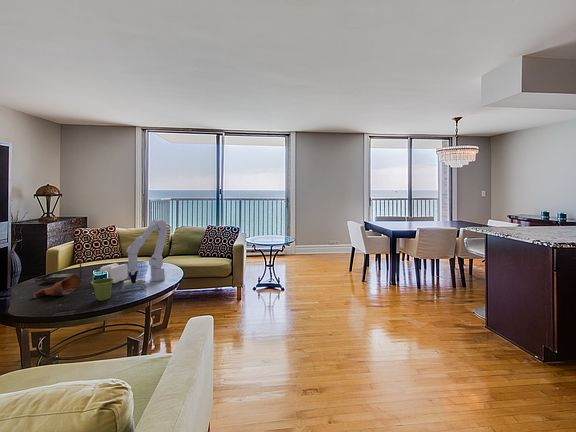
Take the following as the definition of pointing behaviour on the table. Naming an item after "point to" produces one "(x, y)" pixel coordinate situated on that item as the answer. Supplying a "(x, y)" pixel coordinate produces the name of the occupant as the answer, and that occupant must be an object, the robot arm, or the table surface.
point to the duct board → (133, 287)
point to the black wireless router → (60, 276)
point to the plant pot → (103, 288)
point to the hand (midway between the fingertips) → (133, 282)
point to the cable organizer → (116, 271)
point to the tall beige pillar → (128, 282)
